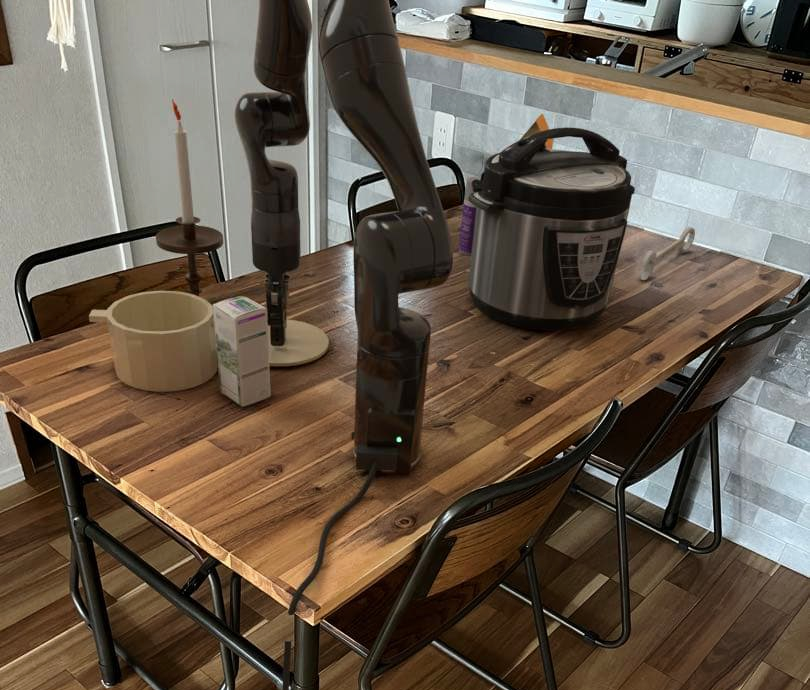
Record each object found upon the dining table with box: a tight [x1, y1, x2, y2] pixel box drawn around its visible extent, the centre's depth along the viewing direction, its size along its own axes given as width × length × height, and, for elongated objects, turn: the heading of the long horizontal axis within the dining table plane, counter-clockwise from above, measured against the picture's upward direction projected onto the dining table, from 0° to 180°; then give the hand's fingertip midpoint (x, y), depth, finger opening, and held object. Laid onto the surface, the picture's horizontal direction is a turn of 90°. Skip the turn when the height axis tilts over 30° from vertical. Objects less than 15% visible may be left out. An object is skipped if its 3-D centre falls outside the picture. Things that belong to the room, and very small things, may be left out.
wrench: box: [640, 226, 696, 281], centre depth 183 cm, size 28×2×6 cm, turn 145°
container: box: [458, 176, 481, 256], centre depth 179 cm, size 5×5×15 cm
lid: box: [267, 312, 330, 367], centre depth 140 cm, size 17×17×6 cm
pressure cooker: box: [467, 127, 636, 331], centre depth 153 cm, size 30×28×32 cm
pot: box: [88, 290, 218, 393], centre depth 131 cm, size 16×21×10 cm
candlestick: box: [155, 98, 224, 306], centre depth 138 cm, size 11×11×35 cm
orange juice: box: [519, 113, 555, 149], centre depth 209 cm, size 8×9×20 cm
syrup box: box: [212, 295, 272, 408], centre depth 124 cm, size 6×6×14 cm
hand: (278, 336), depth 141 cm, fingers open, 5 cm apart
